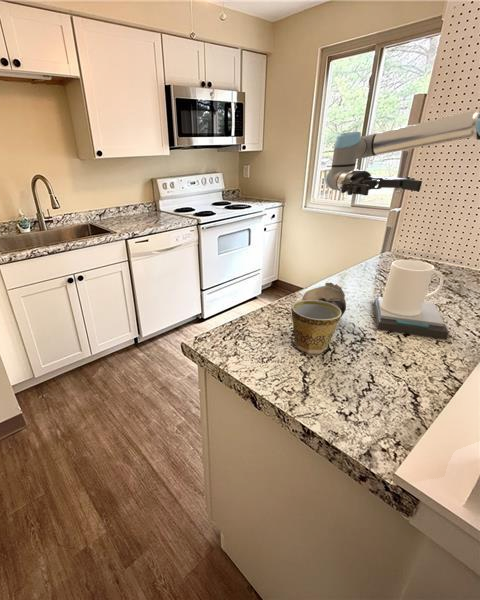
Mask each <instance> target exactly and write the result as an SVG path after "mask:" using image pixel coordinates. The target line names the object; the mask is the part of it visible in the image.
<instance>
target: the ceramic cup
mask: <svg viewBox="0 0 480 600" xmlns="http://www.w3.org/2000/svg"><path fill="white" fill-rule="evenodd" d="M301 300H302V299H301ZM301 300H298V301H296V302H294V303H293V304H292V305H291V320H292V321H291V322H292V328H293V329H292V330H293V337H294V338H293V339H294V344H295V347H296V349H298V350H300V351H302V352H304V353H307V354H314V355H315V354H316V355H319V354H323V352H324V351H326V350H327V348H328V347H329V344H330V341H331V339H332V337H333V335H334V333H335V330H336V329H337V327H338V325H339V322H340V320H341V317H342V316H341V314H342V312H341V310H340V309H339V308H338V307H337V306H335V305H333V304H331V303H328V302H324V301H319V300H309V299H304V300H302V301H301Z"/></svg>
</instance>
